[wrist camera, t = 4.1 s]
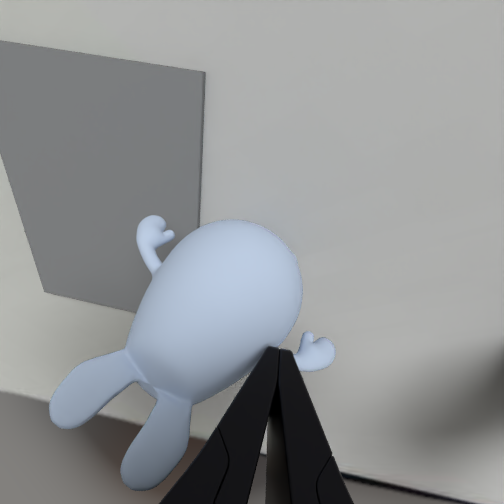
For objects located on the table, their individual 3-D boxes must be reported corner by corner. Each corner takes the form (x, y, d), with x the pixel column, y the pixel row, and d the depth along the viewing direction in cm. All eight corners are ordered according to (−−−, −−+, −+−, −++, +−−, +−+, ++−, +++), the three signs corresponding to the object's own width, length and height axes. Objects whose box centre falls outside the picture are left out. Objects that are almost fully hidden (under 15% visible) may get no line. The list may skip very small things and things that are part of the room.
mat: (205, 72, 13) (202, 71, 13) (195, 322, 21) (193, 325, 21) (-30, 36, 14) (-38, 34, 14) (48, 288, 22) (44, 291, 22)
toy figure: (183, 232, 19) (-41, 374, 9) (215, 146, 15) (-104, 235, 5) (316, 328, 18) (222, 604, 8) (386, 263, 14) (365, 624, 4)
